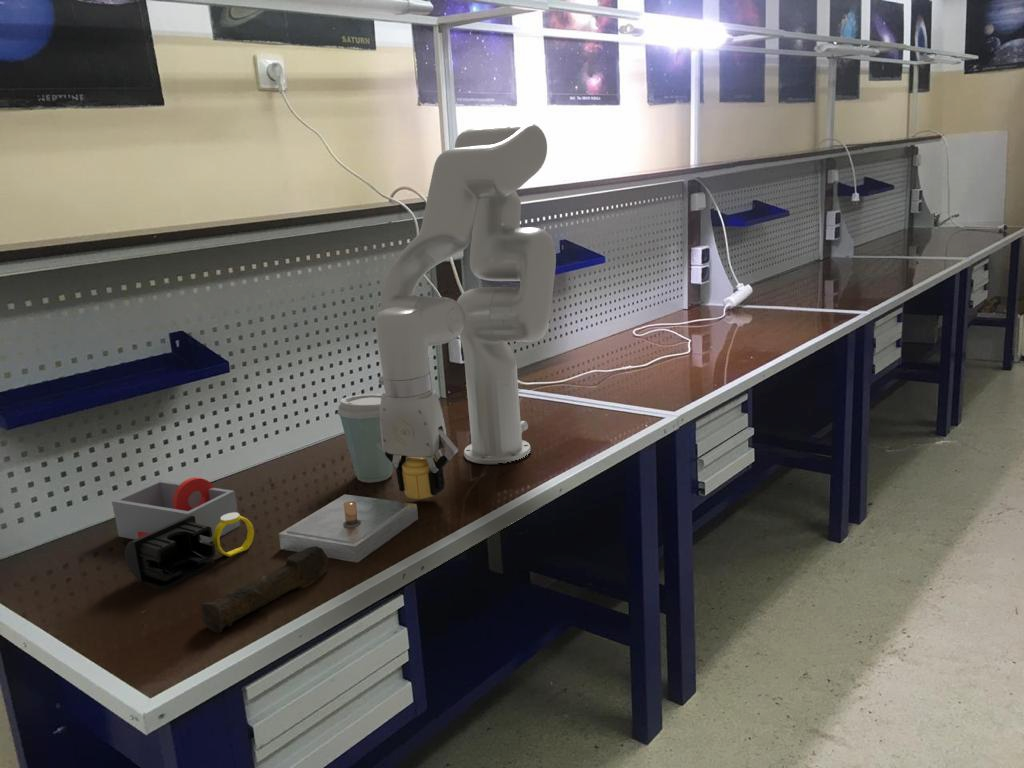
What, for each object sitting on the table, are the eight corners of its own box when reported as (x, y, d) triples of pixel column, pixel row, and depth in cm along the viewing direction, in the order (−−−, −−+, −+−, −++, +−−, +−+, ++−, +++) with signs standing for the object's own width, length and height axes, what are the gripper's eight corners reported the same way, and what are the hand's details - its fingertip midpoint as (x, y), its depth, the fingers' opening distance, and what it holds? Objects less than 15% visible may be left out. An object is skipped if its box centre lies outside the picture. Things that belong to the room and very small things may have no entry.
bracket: (206, 512, 144) (198, 468, 142) (220, 518, 141) (212, 473, 139) (136, 538, 136) (126, 491, 134) (149, 545, 133) (140, 497, 131)
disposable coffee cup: (374, 463, 164) (365, 386, 160) (417, 471, 158) (409, 392, 154) (333, 482, 155) (323, 401, 152) (377, 491, 149) (367, 408, 146)
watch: (224, 563, 126) (215, 527, 125) (214, 558, 128) (205, 522, 126) (260, 546, 130) (251, 510, 129) (250, 541, 132) (241, 506, 131)
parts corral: (166, 513, 146) (160, 480, 145) (240, 525, 139) (234, 490, 137) (118, 536, 138) (111, 501, 137) (194, 550, 131) (188, 513, 129)
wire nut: (417, 483, 146) (412, 451, 144) (444, 486, 144) (440, 453, 142) (399, 496, 142) (394, 463, 140) (427, 500, 139) (423, 466, 137)
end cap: (188, 553, 130) (180, 511, 128) (220, 562, 126) (212, 519, 125) (129, 582, 122) (120, 538, 120) (161, 593, 118) (152, 547, 117)
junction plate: (346, 508, 143) (342, 474, 141) (418, 518, 136) (414, 483, 135) (281, 549, 129) (275, 511, 128) (357, 562, 123) (352, 523, 121)
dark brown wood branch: (219, 638, 106) (214, 604, 104) (202, 629, 108) (196, 595, 107) (341, 577, 120) (337, 546, 118) (323, 569, 122) (319, 539, 121)
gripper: (350, 389, 138) (366, 493, 143) (442, 395, 130) (455, 505, 136) (377, 375, 144) (391, 476, 150) (466, 380, 137) (478, 486, 142)
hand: (421, 488), depth 143 cm, fingers closed on wire nut, 5 cm apart
